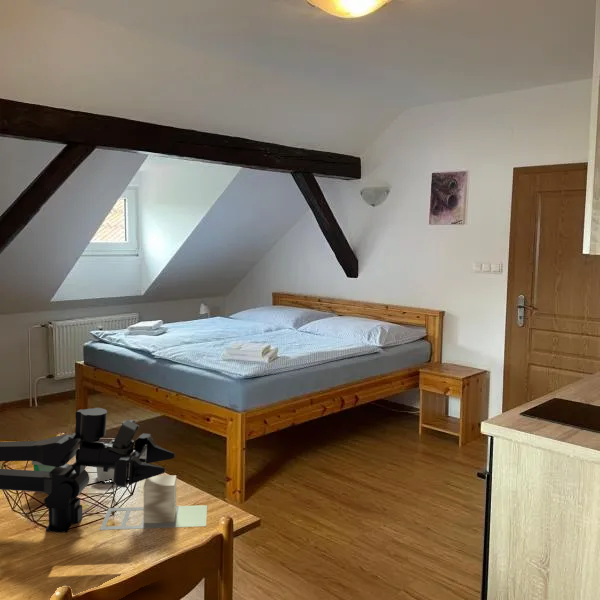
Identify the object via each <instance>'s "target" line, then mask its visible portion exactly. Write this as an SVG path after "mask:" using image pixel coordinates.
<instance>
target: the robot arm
mask: <svg viewBox="0 0 600 600" xmlns="http://www.w3.org/2000/svg"><path fill="white" fill-rule="evenodd" d="M74 416H75V428H74V429H75V431H74V432H73V433H72V434H67V433H66V434H61V435H56V436H52V437H48V438H45V439H42V440H23V441H22V440H17V441H15V440H13V441H11V440H10V441H0V462H32V461H36V462H39V463H41V464H43V465H47V466H54V467H55V468H54V469H53V470H52V471H34V470H30V469H28V470H27V469H11V468H0V490H5V491H6V490H7V491H18V492H19V491H20V492H36V493H37V492H39V493H44V494H45V495H47V496H46V497H45V498H44V499H43V502H44V505H45V507H46V508H47V509H48V525H47V527H46V528H45V532H52V533H53V532H54V533H68V531H69V530H70V528H71V525H75V524H79V523H80V521H82V519H83V505H82V504H81V498H80V497H78V496H79V495H81V494H82V492H83V491H84V489H86V487H87V486H88V485H89V483H90V475H89V473H88V471H87V470H86V467H91V468H96V467H98V468H103V472H108V471H109V470H110V469H114V481H113V482H114V483H113V484H114V485H115V486H116V487H118V488H126V487H127V486H131V485H133V484H135V483H139V482H142V481H144V480H146V479H147V478H150V477H154V476H161V475H162V474H165V472H166V468H165V467H163V466H160V465H156V464H152V463H157V462H162V461H167V460H172V459H174V458H175V457H176V453H175V452H173V451H171V450H168V449H166V448H163V447H161V446H160V445H157V444H156V443H155V441H154V439H153V437H152V436H151V435H152V434H151V433H143V432H142V434H140V435H138V437H137V438H136V439H135V440H133V439H134V437H135V434H136V432H137V431H138V430H139V428H140V425H139V424H137V423H136V420H135V419H131V420H130V419H126V420H124V421H123V422H121V425H120V426H119V430H118V432H117V434H116V436H115V438H114V439H112V440H111V441H110V442H105V441H103V442H102V441H101V438H103V437H105V436H106V433H107V432H106V430H107V417H108V410H107V409H105V408H101V407H93V408H85V409H81V408H80V409H78V410H77V411H76V412H75V415H74ZM74 457H75V461H74V463H72V464H68V463H69V462H70V460H72V459H73V458H74ZM66 463H67V464H66Z"/></svg>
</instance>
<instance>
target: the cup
mask: <svg viewBox="0 0 600 600" xmlns="http://www.w3.org/2000/svg"><path fill="white" fill-rule="evenodd" d="M95 468H96V475H97V478H98V481H99V482H100V481H104V480H108V479H113V480H112V482H113V481H114V469H110V470H109V471H108V472H103V468H98V467H95ZM105 484H111V483H110V481H109V482H106V483H105Z"/></svg>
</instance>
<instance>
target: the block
mask: <svg viewBox="0 0 600 600" xmlns="http://www.w3.org/2000/svg"><path fill="white" fill-rule="evenodd" d="M144 480H145V481H144V484H143V507H144V510H143V516H144V523H165V522H174V520H175V514H176V506H177V475H173V474H172V475H170V474H169V475H157V476H154V477H150V478H147V479H144Z"/></svg>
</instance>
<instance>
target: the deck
mask: <svg viewBox="0 0 600 600" xmlns="http://www.w3.org/2000/svg"><path fill="white" fill-rule="evenodd" d="M121 511H122V512H123V511H124V512H125V513H124V516H123V519H122V523H121V525H110V526H109V525H108V526H107V523H108V521H109V519H110V517H111V514H112V512H121ZM131 511H144V506H139V507H138V506H136V507H109V508H107V511H106V513H105V516H104V519H103V521H102V523H101V526H100V527H99V531H107V530H108V531H110V530H114V531H115V530H138V529H140V530H141V529H142V530H145V529H165V528H166V529H169V528H192V527H193V528H195V527H197V528H198V527H207V515H208V514H207V513H208V505H207V504H205V505H204V504H203V505H201V504H200V505H176V514H175V520H174V522H165V523H144V515H143V517H142V519H141V524H139V525H138V524H137V525H127V522H128V520H129V518H130V517H129V516H130V513H131Z"/></svg>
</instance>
